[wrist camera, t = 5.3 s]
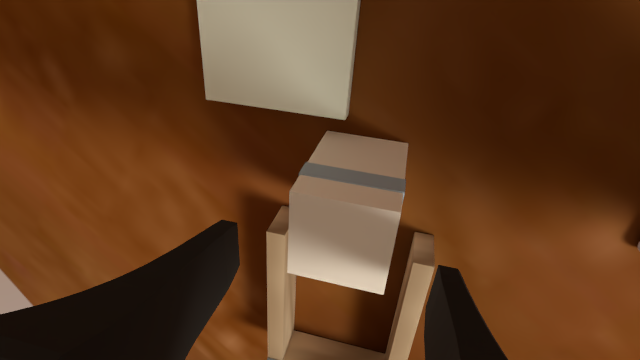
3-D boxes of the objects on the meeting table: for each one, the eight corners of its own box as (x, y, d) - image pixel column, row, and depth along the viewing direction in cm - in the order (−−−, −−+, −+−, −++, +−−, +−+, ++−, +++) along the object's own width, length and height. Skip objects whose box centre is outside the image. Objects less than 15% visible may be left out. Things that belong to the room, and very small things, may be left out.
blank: (409, 142, 18) (402, 211, 13) (395, 212, 20) (384, 296, 15) (326, 129, 18) (288, 189, 13) (320, 198, 21) (286, 273, 15)
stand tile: (367, -60, 14) (363, -62, 14) (348, 114, 18) (345, 120, 17) (200, -70, 15) (189, -72, 15) (213, 94, 19) (206, 99, 18)
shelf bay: (433, 235, 20) (434, 275, 17) (397, 366, 26) (394, 411, 23) (282, 205, 21) (262, 238, 19) (280, 335, 27) (264, 374, 25)
